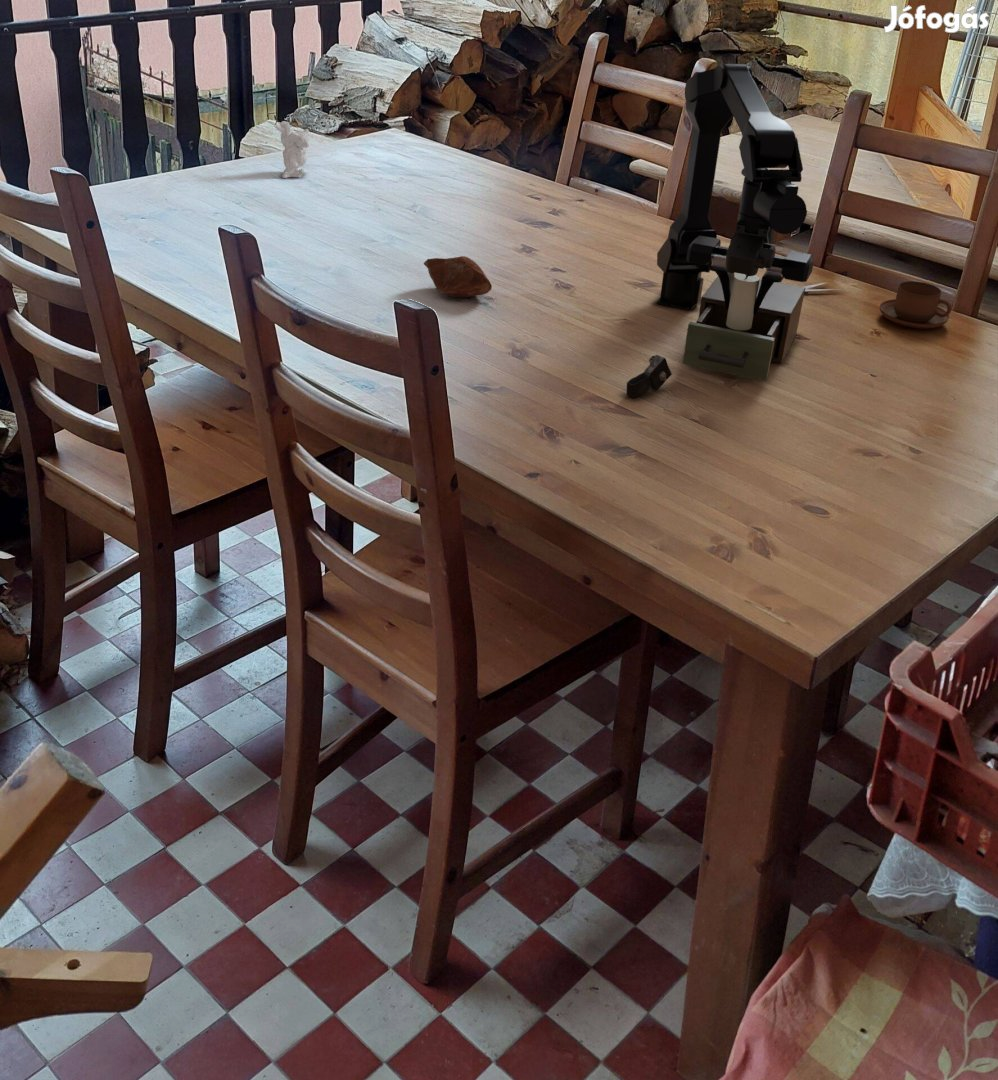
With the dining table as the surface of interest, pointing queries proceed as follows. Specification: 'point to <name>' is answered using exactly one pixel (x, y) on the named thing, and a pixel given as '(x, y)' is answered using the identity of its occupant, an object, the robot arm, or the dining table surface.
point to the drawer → (732, 343)
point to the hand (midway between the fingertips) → (741, 311)
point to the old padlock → (649, 377)
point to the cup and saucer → (916, 306)
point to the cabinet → (769, 309)
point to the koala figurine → (293, 149)
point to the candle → (742, 301)
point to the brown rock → (458, 277)
